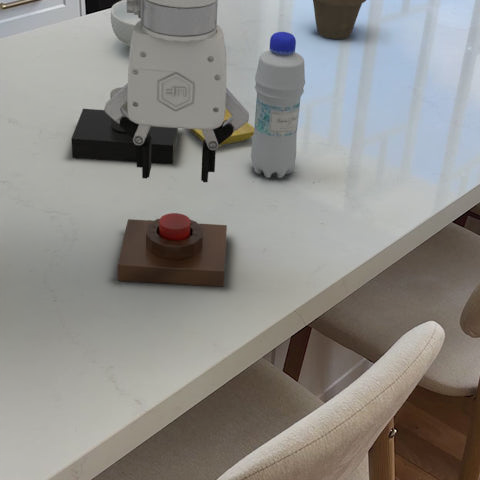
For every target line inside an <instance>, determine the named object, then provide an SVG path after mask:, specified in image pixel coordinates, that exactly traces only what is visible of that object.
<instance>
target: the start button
mask: <svg viewBox="0 0 480 480" xmlns="http://www.w3.org/2000/svg"><path fill="white" fill-rule="evenodd" d="M159 219H160V220H159V235H160V237H161V238H164V239H166V240H170V241H180V240H185V239H188V238H189V236H190V227H191V221H190V220H191V219H190V217H189V216H188V215H186V214H183V213H178V212H176V213H175V212H172V213H171V212H170V213H166V214H164V215H161V216H160V218H159Z"/></svg>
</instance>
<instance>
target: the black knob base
mask: <svg viewBox="0 0 480 480" xmlns="http://www.w3.org/2000/svg"><path fill="white" fill-rule="evenodd" d="M149 134H150V136H151V137H152V146H151V164H163V165H164V164H165V165H174V159H175V154H176V149H177V148H176V147H177V142H178V136H179V128H169V127H155V126H151V127H150V130H149ZM70 141H71V157H72V158H73V159H84V160H101V161H114V162H118V161H119V162H131V163H132V162H133V163H137V151H136V144H135V143H134V142H133V139H132V138H131V137H130V136H129V135H128V134H127V133H126V132H119V131H116V130H114V129H113V128H112V127H111V117H110V116H109V115H108V114H107V113H106V112H105V110H104V109H95V108H94V109H93V108H82V110H81V113H80V115H79V118H78V121H77V123H76V126H75V128H74V131H73V134H72V136H71V139H70Z"/></svg>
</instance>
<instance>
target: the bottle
mask: <svg viewBox="0 0 480 480" xmlns="http://www.w3.org/2000/svg"><path fill="white" fill-rule="evenodd" d="M296 44H297V40H296V37H295V35H293V33H290V32H288V31H287V32H286V31H277V32H274V33H273V34H272V35H271V36H270V40H269V49H268V50H266V51H263V52H262V53H260V55H259V59H258V61H257V62H258V63H257V68H256V72H255V76H254V81H255V84H254V89H255V92H256V99H255V112H254V113H255V115H254V126H253V127H254V135H253V136H252V142H251V147H250V148H251V149H250V158H251V164H252V168H253V171H254V172H255V173H256V174H257V175H261V174H262V173H263V175H264V177H265V178H267V179H270V178H271V177H272V174H274V173H276V177H277V179H282V178H284V177H285V175H289V174H290V173H292V172H293V170H294V167H295V164H296V160H297V159H296V158H297V137H298V136H297V134H298V126H299V117H300V116H299V115H300V108H301V97H302V95H303V94H304V92H305V90H304V87H305V85H306V75H305V74H306V73H305V72H306V71H305V59H304V57H303V55H301V54H299V53H298V52H296V47H297V46H296Z"/></svg>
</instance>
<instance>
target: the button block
mask: <svg viewBox="0 0 480 480" xmlns="http://www.w3.org/2000/svg"><path fill="white" fill-rule="evenodd" d="M159 220H160V218H156V219H154V220H149V219H133V218H131V219H130V218H128V219H127V223H126V226H125V232H124V235H123V239H122V245H121V248H120V253H119V257H118V262H117V281H118V282H119V281H120V282H134V283H153V284H155V283H156V284H169V285H170V284H171V285H189V286H206V287H225V285H224V284H225V269H226V252H227V251H226V249H227V248H226V247H227V232H228V225H227V224H213V223H199V222H197V221H195V220H192V219H190V221H191V227H190V236H189V238H188V239H185V240H180V241H170V240H166V239H164V238H161V237H160V235H159Z"/></svg>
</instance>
